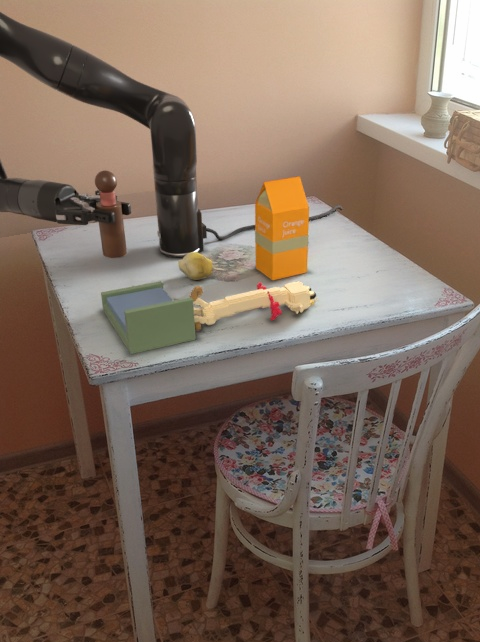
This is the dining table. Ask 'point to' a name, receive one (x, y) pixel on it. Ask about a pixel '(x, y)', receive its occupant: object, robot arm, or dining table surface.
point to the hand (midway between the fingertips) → (121, 213)
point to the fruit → (196, 266)
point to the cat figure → (253, 302)
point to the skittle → (115, 232)
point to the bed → (149, 317)
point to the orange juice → (281, 228)
